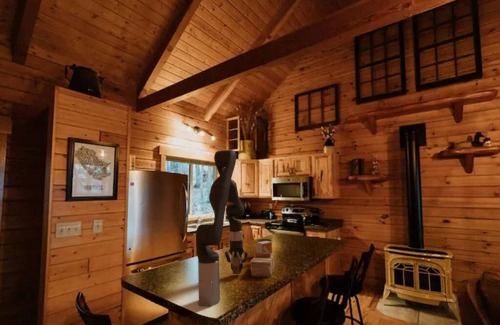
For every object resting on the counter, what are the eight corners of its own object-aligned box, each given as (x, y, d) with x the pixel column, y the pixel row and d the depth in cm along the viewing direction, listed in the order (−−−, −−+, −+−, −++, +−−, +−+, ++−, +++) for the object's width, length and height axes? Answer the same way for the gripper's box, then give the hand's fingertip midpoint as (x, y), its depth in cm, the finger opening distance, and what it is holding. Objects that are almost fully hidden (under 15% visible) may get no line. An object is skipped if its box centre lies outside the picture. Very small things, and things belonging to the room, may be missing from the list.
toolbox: (270, 277, 142) (270, 264, 143) (251, 276, 144) (250, 263, 145) (274, 267, 159) (274, 255, 160) (257, 266, 162) (256, 255, 163)
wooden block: (239, 274, 144) (238, 255, 145) (232, 274, 145) (232, 255, 146) (241, 272, 148) (240, 253, 149) (234, 271, 149) (234, 253, 150)
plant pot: (253, 255, 189) (252, 239, 190) (267, 253, 194) (266, 238, 195) (260, 259, 178) (260, 242, 179) (275, 256, 183) (274, 240, 184)
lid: (269, 263, 143) (269, 257, 143) (250, 263, 145) (250, 256, 146) (274, 255, 160) (274, 249, 161) (256, 254, 163) (256, 249, 163)
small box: (262, 264, 166) (261, 243, 167) (257, 262, 171) (256, 242, 173) (272, 262, 171) (271, 241, 172) (266, 260, 176) (266, 240, 177)
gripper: (222, 240, 146) (222, 271, 144) (246, 240, 143) (247, 272, 141) (226, 237, 153) (227, 267, 152) (249, 237, 150) (250, 268, 149)
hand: (237, 269), depth 147 cm, fingers closed on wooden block, 4 cm apart
